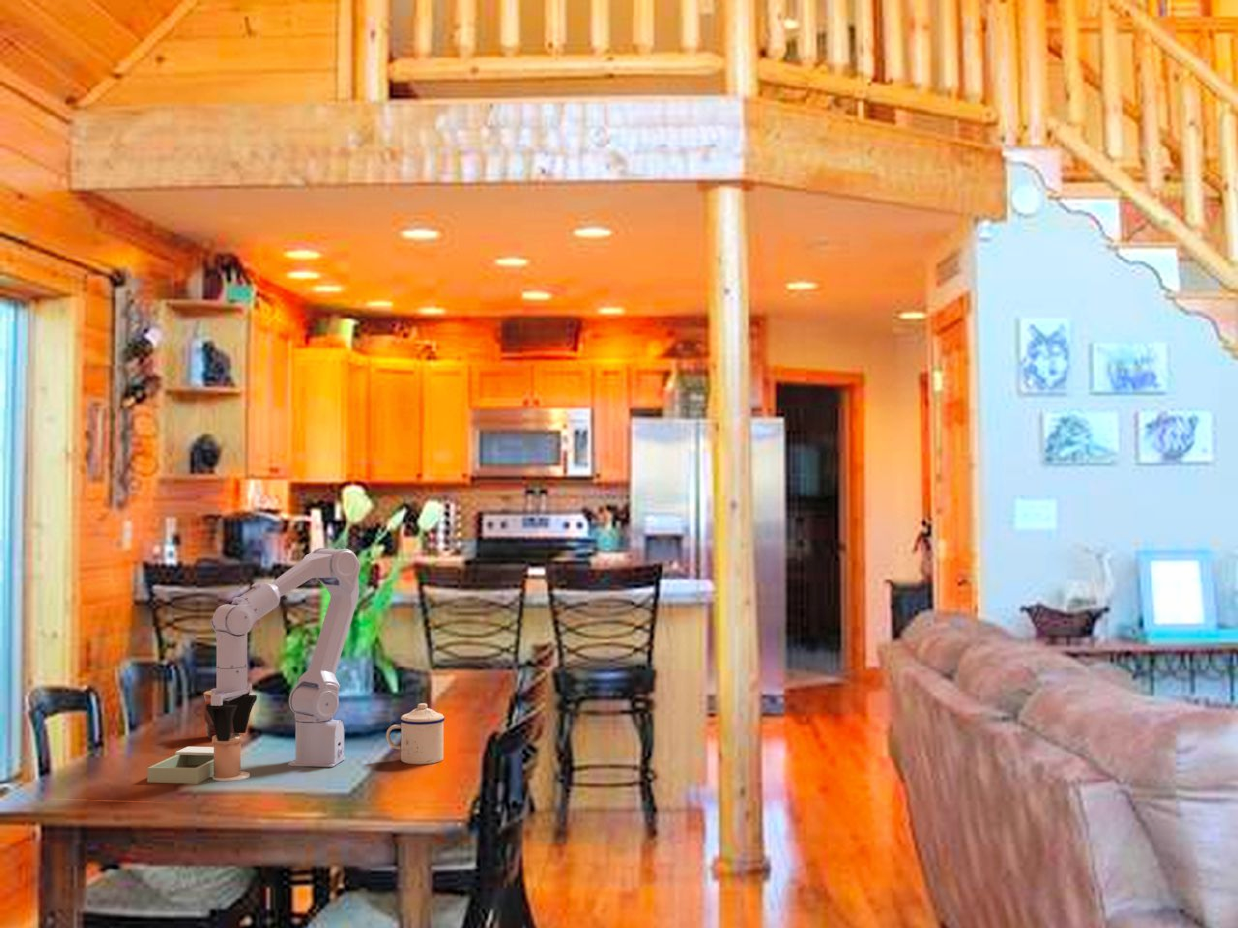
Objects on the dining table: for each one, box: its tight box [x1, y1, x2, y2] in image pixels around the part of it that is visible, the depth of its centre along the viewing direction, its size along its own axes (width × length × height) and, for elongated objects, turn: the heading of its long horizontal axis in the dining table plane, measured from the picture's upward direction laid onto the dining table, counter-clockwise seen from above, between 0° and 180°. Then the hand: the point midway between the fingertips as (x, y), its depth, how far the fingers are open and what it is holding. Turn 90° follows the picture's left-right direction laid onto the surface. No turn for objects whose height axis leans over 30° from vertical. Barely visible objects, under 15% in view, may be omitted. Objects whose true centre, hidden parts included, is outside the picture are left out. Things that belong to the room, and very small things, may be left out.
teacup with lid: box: [385, 702, 446, 765], centre depth 256 cm, size 12×9×12 cm
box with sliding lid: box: [146, 746, 214, 784], centre depth 243 cm, size 11×18×4 cm, turn 174°
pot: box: [211, 733, 243, 778], centre depth 240 cm, size 6×6×8 cm
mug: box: [203, 690, 240, 740], centre depth 279 cm, size 12×9×10 cm
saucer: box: [211, 770, 251, 782], centre depth 240 cm, size 7×7×1 cm
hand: (231, 736), depth 240 cm, fingers open, 7 cm apart
